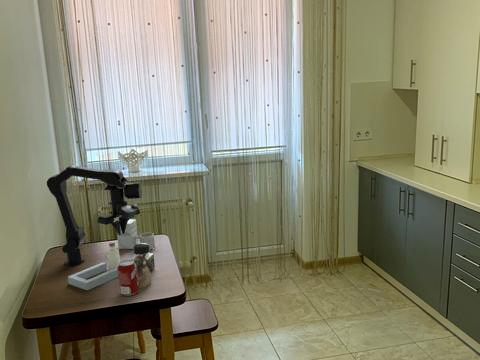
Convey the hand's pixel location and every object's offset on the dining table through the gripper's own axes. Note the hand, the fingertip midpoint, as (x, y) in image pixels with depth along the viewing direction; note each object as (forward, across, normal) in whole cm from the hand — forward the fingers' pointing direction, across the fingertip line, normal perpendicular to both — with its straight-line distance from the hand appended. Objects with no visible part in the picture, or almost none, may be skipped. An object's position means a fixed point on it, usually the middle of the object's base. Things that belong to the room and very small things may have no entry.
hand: (121, 234), depth 209 cm
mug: (+12, +15, +4) cm, 20 cm away
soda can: (+12, -21, -28) cm, 37 cm away
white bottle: (+12, -10, -6) cm, 17 cm away
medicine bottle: (+12, -5, -18) cm, 22 cm away
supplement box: (+12, +13, +12) cm, 22 cm away
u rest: (+12, -19, -6) cm, 23 cm away
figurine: (+12, -13, -26) cm, 32 cm away
